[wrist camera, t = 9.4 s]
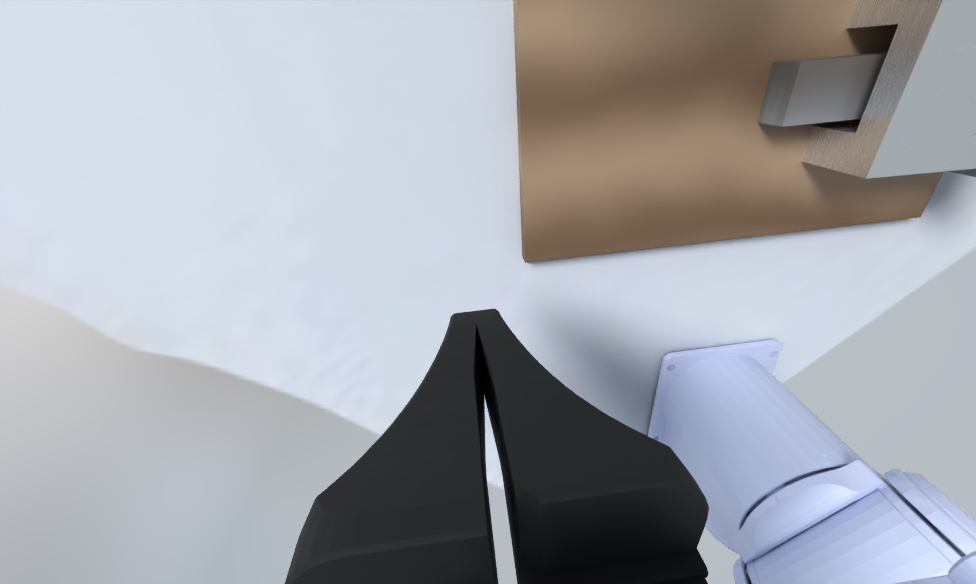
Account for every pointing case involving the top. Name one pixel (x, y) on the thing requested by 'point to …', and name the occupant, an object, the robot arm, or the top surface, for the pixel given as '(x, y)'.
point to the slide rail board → (691, 122)
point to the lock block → (911, 95)
